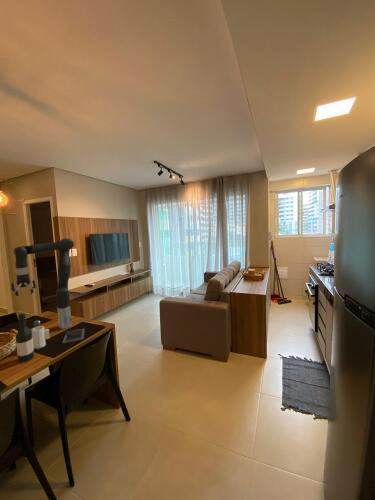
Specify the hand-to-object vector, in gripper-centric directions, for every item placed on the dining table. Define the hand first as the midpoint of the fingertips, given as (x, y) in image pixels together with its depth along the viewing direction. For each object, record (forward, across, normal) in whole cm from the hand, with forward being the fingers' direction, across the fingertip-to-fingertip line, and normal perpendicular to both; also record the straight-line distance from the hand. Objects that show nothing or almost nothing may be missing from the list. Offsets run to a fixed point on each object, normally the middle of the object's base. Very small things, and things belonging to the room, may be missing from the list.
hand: (24, 294), depth 159 cm
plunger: (+29, -8, +18) cm, 35 cm away
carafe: (+34, -9, +18) cm, 40 cm away
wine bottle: (+34, -2, +32) cm, 47 cm away
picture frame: (+35, -30, +16) cm, 49 cm away
